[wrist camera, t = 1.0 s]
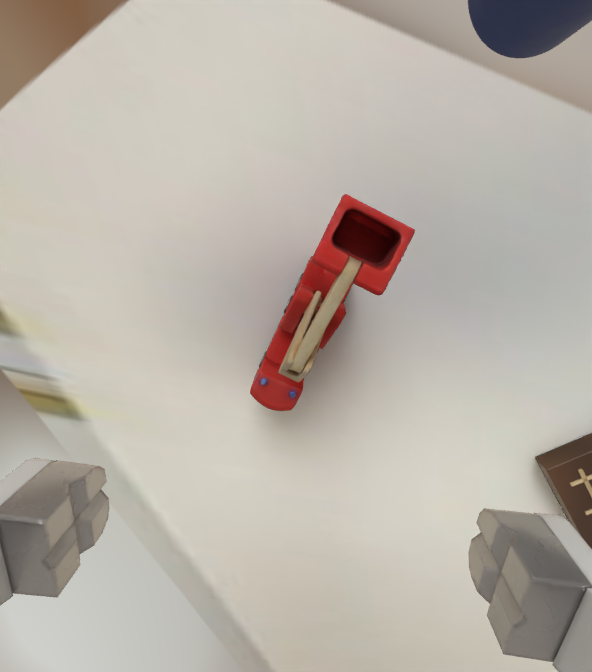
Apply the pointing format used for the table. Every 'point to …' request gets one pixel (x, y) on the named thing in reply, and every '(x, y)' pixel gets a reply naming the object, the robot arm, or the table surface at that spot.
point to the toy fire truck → (328, 295)
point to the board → (572, 482)
